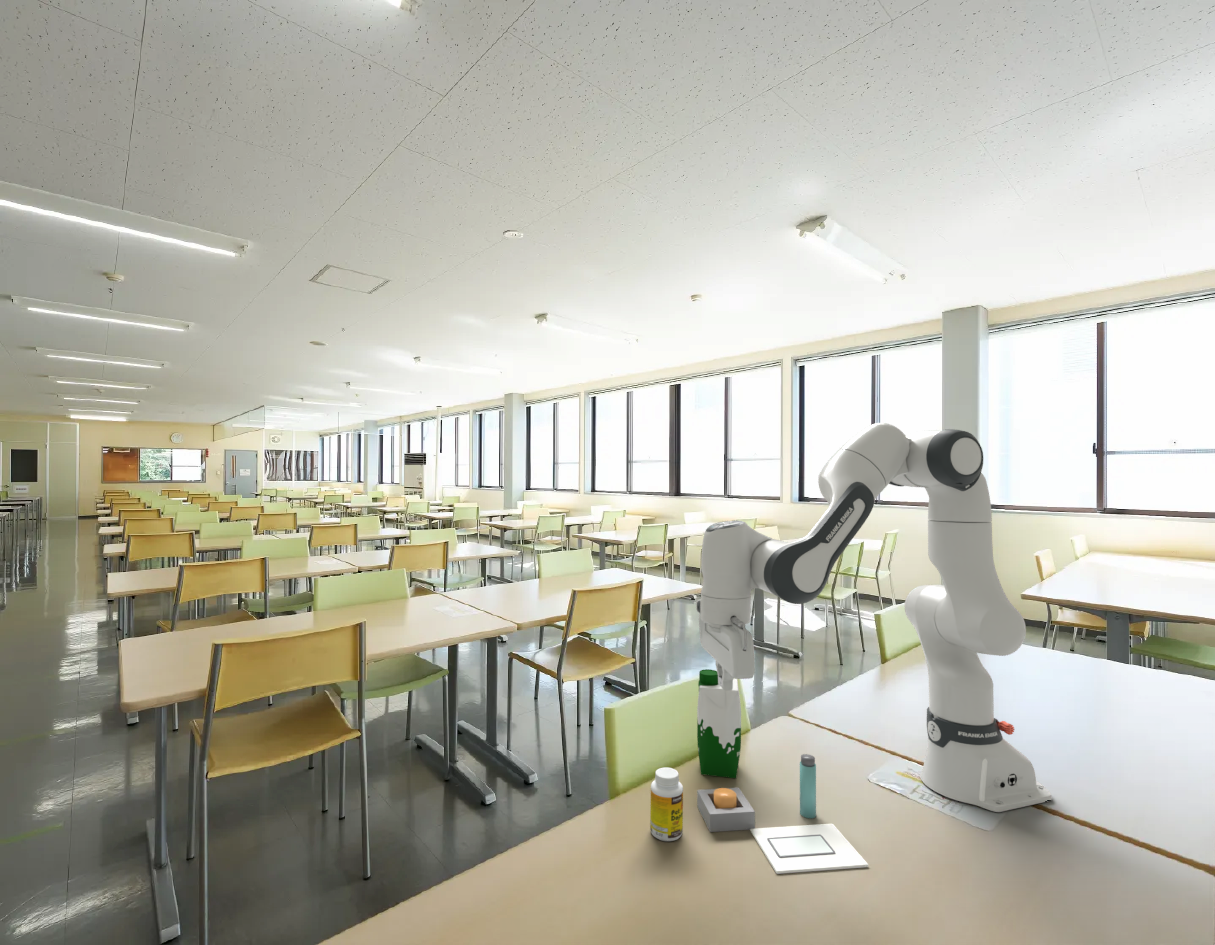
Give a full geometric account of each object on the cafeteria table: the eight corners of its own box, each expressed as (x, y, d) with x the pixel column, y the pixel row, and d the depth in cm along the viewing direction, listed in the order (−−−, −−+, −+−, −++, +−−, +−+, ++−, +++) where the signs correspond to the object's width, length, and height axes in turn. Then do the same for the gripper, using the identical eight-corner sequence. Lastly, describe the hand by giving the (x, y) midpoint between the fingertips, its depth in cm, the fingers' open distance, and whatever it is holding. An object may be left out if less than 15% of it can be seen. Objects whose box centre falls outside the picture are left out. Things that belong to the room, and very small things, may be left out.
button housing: (738, 803, 107) (738, 787, 108) (754, 829, 100) (754, 811, 100) (697, 806, 106) (697, 789, 107) (709, 831, 99) (710, 814, 99)
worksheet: (832, 825, 101) (832, 822, 101) (868, 867, 90) (868, 863, 90) (750, 831, 99) (750, 828, 99) (776, 873, 88) (776, 870, 88)
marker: (811, 809, 106) (811, 753, 106) (818, 817, 103) (818, 760, 103) (797, 810, 106) (797, 754, 106) (804, 818, 103) (804, 761, 103)
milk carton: (698, 756, 126) (698, 665, 127) (740, 761, 124) (740, 668, 125) (696, 776, 118) (696, 678, 118) (741, 781, 116) (741, 681, 116)
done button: (732, 806, 105) (732, 787, 105) (739, 818, 101) (739, 799, 101) (710, 807, 105) (710, 788, 105) (717, 820, 101) (717, 800, 101)
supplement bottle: (672, 847, 94) (673, 784, 95) (644, 835, 98) (644, 774, 98) (688, 831, 99) (689, 770, 99) (660, 820, 102) (661, 761, 102)
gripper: (764, 624, 94) (764, 709, 94) (724, 599, 114) (724, 669, 114) (727, 624, 93) (727, 710, 93) (693, 600, 114) (693, 670, 113)
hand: (725, 687), depth 104 cm, fingers closed
